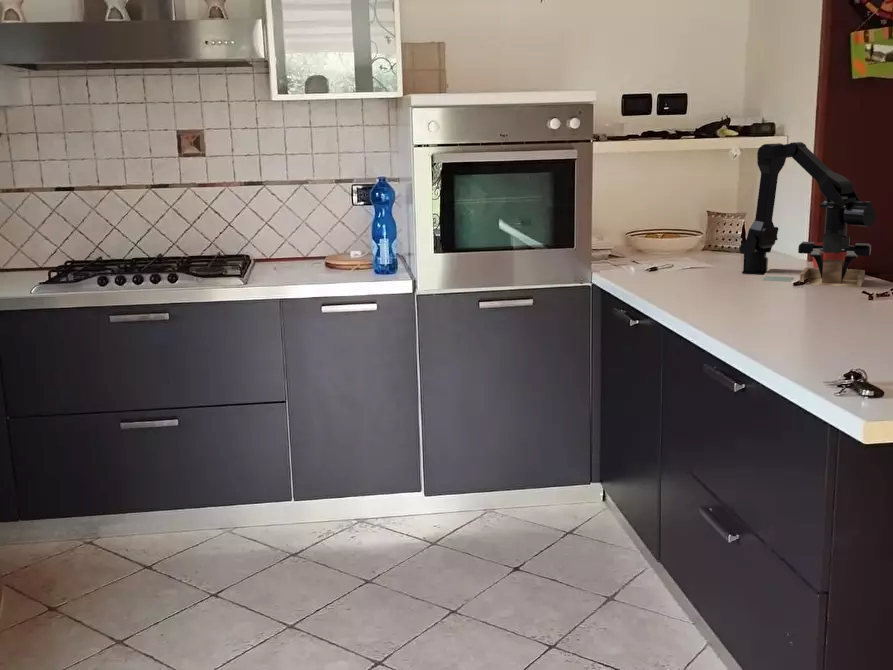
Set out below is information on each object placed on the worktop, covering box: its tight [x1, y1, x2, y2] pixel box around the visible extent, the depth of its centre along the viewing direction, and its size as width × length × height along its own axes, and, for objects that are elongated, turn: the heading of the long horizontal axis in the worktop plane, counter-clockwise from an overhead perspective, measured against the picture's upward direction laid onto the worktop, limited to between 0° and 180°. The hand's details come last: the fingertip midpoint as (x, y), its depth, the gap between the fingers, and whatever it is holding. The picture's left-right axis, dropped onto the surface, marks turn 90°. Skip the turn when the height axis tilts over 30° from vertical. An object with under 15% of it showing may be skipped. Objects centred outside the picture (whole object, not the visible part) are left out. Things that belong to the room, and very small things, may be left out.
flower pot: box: [812, 242, 851, 268], centre depth 272 cm, size 11×11×10 cm
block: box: [822, 260, 844, 284], centre depth 259 cm, size 5×5×6 cm
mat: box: [761, 275, 795, 283], centre depth 268 cm, size 8×8×1 cm
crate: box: [799, 267, 866, 288], centre depth 260 cm, size 16×12×4 cm
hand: (832, 278), depth 260 cm, fingers closed on block, 5 cm apart
